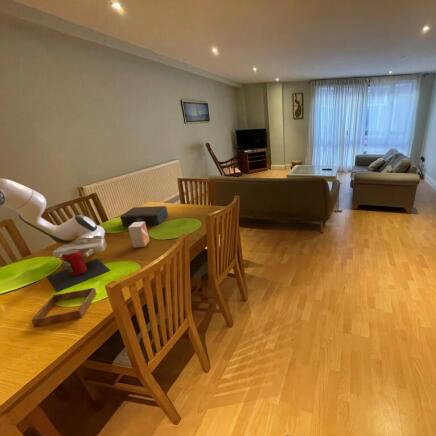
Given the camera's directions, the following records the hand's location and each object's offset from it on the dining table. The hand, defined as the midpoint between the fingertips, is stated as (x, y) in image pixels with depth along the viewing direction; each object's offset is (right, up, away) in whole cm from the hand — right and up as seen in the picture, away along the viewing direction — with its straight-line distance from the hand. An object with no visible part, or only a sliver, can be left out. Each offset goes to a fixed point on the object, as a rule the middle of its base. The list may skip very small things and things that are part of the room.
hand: (73, 257), depth 113 cm
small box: (+13, +3, +31) cm, 34 cm away
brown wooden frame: (+15, -18, -19) cm, 30 cm away
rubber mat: (0, -9, +3) cm, 9 cm away
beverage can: (0, -8, +3) cm, 9 cm away
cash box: (-4, +17, +65) cm, 67 cm away
